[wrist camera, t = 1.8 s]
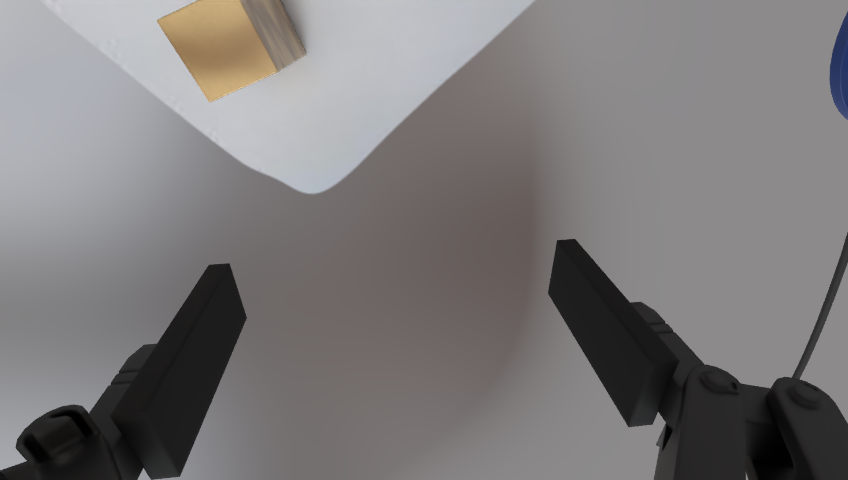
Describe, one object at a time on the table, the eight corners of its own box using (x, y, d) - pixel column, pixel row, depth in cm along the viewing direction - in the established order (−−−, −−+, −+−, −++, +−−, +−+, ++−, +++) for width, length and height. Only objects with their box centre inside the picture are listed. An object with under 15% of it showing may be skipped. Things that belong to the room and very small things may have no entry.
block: (306, 54, 36) (278, 71, 25) (257, 76, 36) (209, 102, 26) (276, -8, 33) (231, -16, 23) (223, 17, 34) (155, 20, 23)
